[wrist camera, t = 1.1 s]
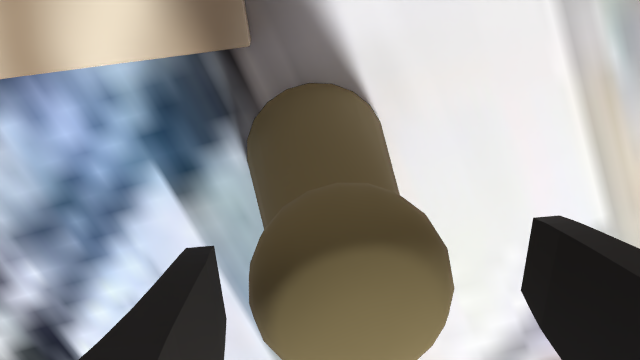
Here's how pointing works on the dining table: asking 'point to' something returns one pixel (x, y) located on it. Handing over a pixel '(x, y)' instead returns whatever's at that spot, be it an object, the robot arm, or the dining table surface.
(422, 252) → the cork
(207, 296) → the robot arm
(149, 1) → the base board
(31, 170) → the dining table surface
